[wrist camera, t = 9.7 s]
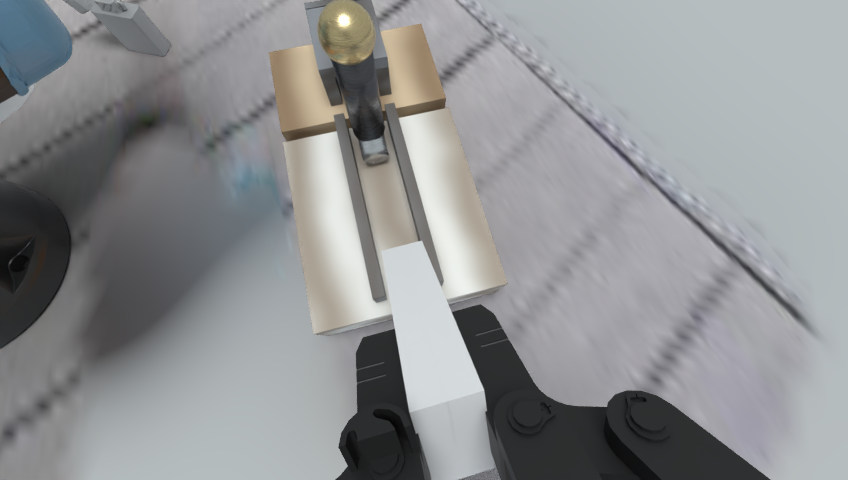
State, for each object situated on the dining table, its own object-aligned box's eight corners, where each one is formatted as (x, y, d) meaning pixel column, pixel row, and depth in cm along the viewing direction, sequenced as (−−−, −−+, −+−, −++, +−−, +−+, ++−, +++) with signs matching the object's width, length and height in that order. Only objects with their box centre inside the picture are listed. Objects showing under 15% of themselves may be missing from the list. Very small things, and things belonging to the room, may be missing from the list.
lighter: (171, 43, 36) (104, -38, 28) (164, 56, 35) (94, -23, 28) (108, 32, 36) (25, -52, 29) (100, 45, 36) (13, -38, 28)
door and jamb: (328, 335, 27) (292, 331, 20) (285, 85, 35) (247, 10, 27) (495, 291, 29) (523, 271, 21) (420, 58, 36) (421, -21, 28)
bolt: (358, 167, 27) (316, 43, 16) (331, 49, 30) (281, -119, 19) (396, 159, 27) (380, 32, 16) (365, 43, 31) (334, -127, 20)
